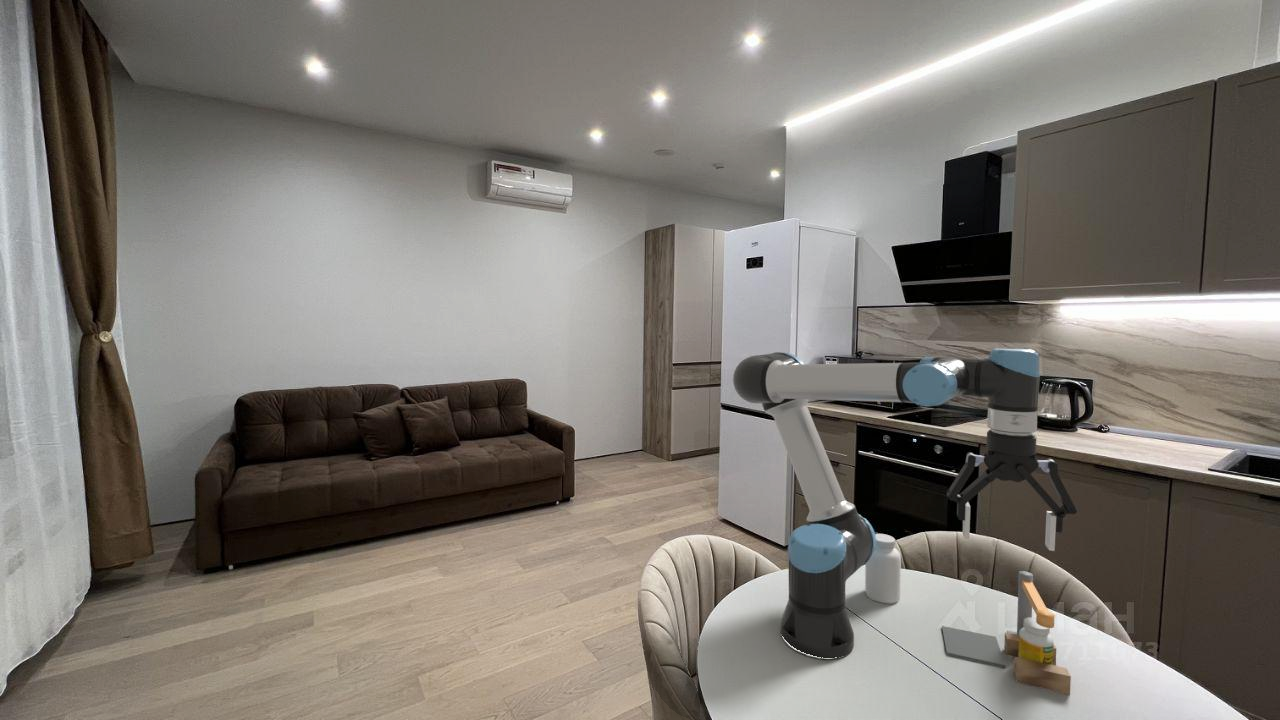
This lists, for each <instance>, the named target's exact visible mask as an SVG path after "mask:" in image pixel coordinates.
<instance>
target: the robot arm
mask: <svg viewBox="0 0 1280 720" xmlns="http://www.w3.org/2000/svg"><path fill="white" fill-rule="evenodd" d="M1040 377H1041V374H1040V355H1039V353H1038V352H1037V351H1035V350H1033V349H1029V348H1028V349H1027V348H993V349H991V350H990V353H989V356H988V358H971V357H969V358H968V357H967V358H966V357H949V356H947V357H946V356H939V355H938V356H925V357H922V359H920V360H919V362H881V363H880V362H873V363H865V362H864V363H813V364H811V363H808V364H806V363H805V362H803V361H802V359H801V358H799V357H798V356H796V355H794V354H792V353H790V352H780V351H779V352H778V351H776V352H773V353H766V354H756V355H751V356H748V357H746V358H744V359H742V360H741V361H740V362H739V363H738V365H737V366H736V367H735V369H734V373H733V377H732V380H733V381H732V382H733V386H734V390H735V392H736V393H737V395H739V397H740V398H741V399H742V400H744V401H746V402H748V403H751V404H757V405H758V404H761V406H762V408H763V410H764V412H765V414H768V415H770V416H772V418H773V419H774V421H775V422H774V423H775V424H776V427H777V430H778V432H779V435H780V438H781V440H782V443H783V445H784V447H785V451H786V453H787V456H788V458H789V460H790V462H791V466H792V469H793V470H794V472H795V476H796V479H797V481H798V483H799V486H800V489H801V491H802V495H803V496H804V500H805V502H806V504H807V506H808V509H809V512H808V515H807V517H806V522H807V524H804V525H800V526H799V527H797V528H795V529H794V530H793V531H792V532H791V534H790V535H789V539H788V546H787V556H788V557H787V559H788V560H787V561H788V564H787V565H788V569H787V570H788V600H787V603H786V605H785V608H784V612H783V614H782V617H781V620H780V635H781V634H782V636H783V637H784V639H785V640H786V641H787V642H788V643H789V644H790V645H791V646H793V647H794V648H796V649H797V650H800V651H801V652H804V653H806V654H810V655H813V656H817V657H821V658H822V657H823V658H835V657H837V658H838V659H840V658H839V657H842V656H844V657H846V656H848V655H849V654H850V653H852V652H853V650H854V646H855V635H854V634H855V633H854V630H853V627H852V623H851V621H850V617H849V615H848V611H847V609H846V582H847V580H848V579H849V578H850V577H851V576H852V575H854V574H855V573H856V572H857V571H858V570H859V569H861V568H862V566H865V564H866V563H867V562H868V561H869V559H870V557H871V556H872V554H873V552H874V550H875V547H876V536H875V534H876V533H875V529H874V528H873V526H872V524H871V523H870V521H869V520H867V518H865V517H863V516H862V515H861V514H859V513H858V511H857V508H856V505H855V504H854V503H852V502H849V501H847V500H846V499H845V496H844V493H843V491H842V489H841V486H840V484H839V481H838V479H837V476H836V474H835V472H834V468H833V466H832V463H831V461H830V459H829V457H828V454H827V452H826V449H825V446H824V444H823V442H822V439H821V436H820V434H819V432H818V430H817V428H816V424H815V422H814V420H813V417H812V415H811V413H810V409H809V408H808V402H809V400H817V401H818V400H819V401H848V402H849V401H854V402H856V401H858V402H881V403H882V402H883V403H884V402H885V403H886V402H889V403H909V404H916V405H917V406H921V407H936V406H941V405H943V404H945V403H947V402H948V401H949V400H951V399H954V398H955V397H969V398H971V397H972V398H985V399H986V398H987V401H988V403H987V418H986V419H987V424H986V426H987V427H988V428H989V429H988V431H986V449H985V453H984V455H980V454H979V455H978V454H974V453H973V452H971V451H969V452H967V453H966V456H965V462H964V464H963V466H962V467H961V469H960V471H959V472H958V474H957V475H956V477H955V479H954V481H953V482H952V484H951V485H950V487H949V488H948V490H947V492H946V496H947V498H948V500H949V501H953V502H956V517H957V518H958V521H962V535H963V537H964V539H965V540H970V530H971V526H970V525H971V505H970V501H971V500H972V499H973V498H975V497H976V495H977V494H979V493H980V492H981V491H982V490H983V489H985V487H987V486H988V485H989V484H990V483H992V482H994V481H995V480H996V479H998V480H999V481H1002V482H1003V481H1004V482H1007V481H1012V482H1015V483H1021V482H1023V481H1025V480H1026V482H1027V484H1029V485H1030V487H1031V488H1033V490H1034V491H1035V492H1036V493H1037V494H1038V495H1039V497H1040V498H1041V499H1042V500H1043V501H1044V502H1045V504H1047V506H1048V507H1049V508H1050V509H1051V510H1052V511H1051V510H1046V515H1045V517H1046V519H1045V534H1044V535H1045V538H1044V539H1045V540H1044V541H1045V542H1044V545H1045V547H1046V549H1048V550H1049V551H1051V552H1055V550H1056V549H1055V548H1056V533H1060V534H1061V533H1062V531H1063V526H1064V525H1063V524H1064V523H1063V522H1064V518H1065V517H1066V515H1070V514H1071V515H1076V514H1077V512H1078V510H1077V508H1076V506H1075V505H1074V503H1073V500H1072V498H1071V496H1070V495H1069V493H1068V491H1067V489H1066V487H1065V484H1063V482H1062V481H1063V480H1061V477H1060V476H1059V469H1058V467H1059V466H1058V464H1057V462H1055V460H1053V459H1052V458H1045V460H1042V459H1041V460H1040V459H1037V458H1036V456H1037V455H1036V454H1037V435H1036V434H1034V433H1035V432H1037V429H1038V410H1039V395H1040V394H1039V392H1040V388H1039V387H1040V379H1041V378H1040ZM981 463H983V464H985V466H986V467H987V468H986V469H985V470H984V471H983V472H982V473H981V475H979V476H978V477H977V478H976V479H975V480H974V481H973V482H972V483H971V484H969V485H968V486H967V487H966V488H964V486H965V485H966V484H967V483H966V482H967V481H968V480H969V478H970V477H971V475H972V473H973V471H974V470H975V467H979V466H980V464H981ZM1038 468H1041V470H1042V471H1043V472H1044V473H1046V474H1047V476H1048V479H1049V481H1050V482H1051V485H1052V487H1053V488H1054V490H1055V493H1056V495H1057V496H1058V498H1059V501H1060V502H1061V504H1062V505H1061V504H1060V505H1058V504H1057V502H1056V501H1055V500H1054V499H1053V498H1052V497H1051V496H1050V495H1049V493H1047V491H1046V490H1045V489H1044V488H1043V487H1042V486H1041V484H1040V483H1039V482H1038V481H1037V480H1036V478H1035V477H1034V476H1032V474H1033V473H1034V472H1035V471H1036V470H1037V469H1038ZM963 488H964V489H963ZM962 489H963V490H962ZM782 636H781V637H782ZM845 655H846V656H845ZM842 658H843V657H842Z"/></svg>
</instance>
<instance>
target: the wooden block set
mask: <svg viewBox="0 0 1280 720" xmlns="http://www.w3.org/2000/svg"><path fill="white" fill-rule="evenodd" d="M1003 646H1004V651H1005V654H1006V656H1008V657H1014V658H1013V677H1014V680H1015V682H1016V683H1019V684H1023V685H1028V686H1030V687H1031V686H1032V687H1036V688H1040V689H1045V690H1048V691H1053V692H1058V693H1061V694H1065V695H1071V682H1072V681H1071V680H1072V678H1071V677H1072V676H1071V674H1070V672H1069V670H1068V668H1067V667H1063V666H1058V665H1057V646H1056V645H1055V644H1054V646H1053V665H1049V664H1045V663H1040V662H1035V661H1031V660H1026V659H1021V658H1018V654H1019V635H1017V631H1013V630H1008V629H1007V630H1006V632H1005V631H1004V645H1003Z"/></svg>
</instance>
